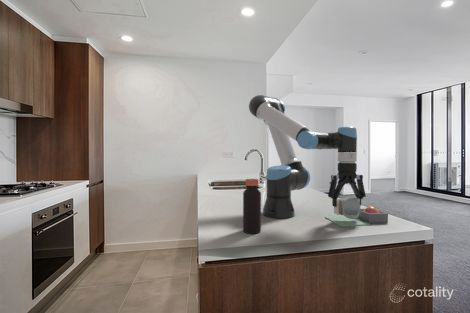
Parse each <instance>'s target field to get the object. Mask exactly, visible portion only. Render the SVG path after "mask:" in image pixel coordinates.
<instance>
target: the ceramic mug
mask: <svg viewBox="0 0 470 313" xmlns="http://www.w3.org/2000/svg"><path fill="white" fill-rule="evenodd" d="M337 199H338V200H339V216H345V217H347V218H349V219H357V218H358V216H359V215H360V209H361V206H360V203H359V200H358V199H357V197H343V198H337Z"/></svg>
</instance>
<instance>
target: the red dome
mask: <svg viewBox="0 0 470 313" xmlns="http://www.w3.org/2000/svg"><path fill="white" fill-rule="evenodd" d="M364 209H365V210H363V211H364V212H367V213H369V214H370V213H380V212H379V211H380V210H379V211H377V210H378V209H377V208H376V207H374V206H372V205H370V206H367V207H366V208H364Z"/></svg>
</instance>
